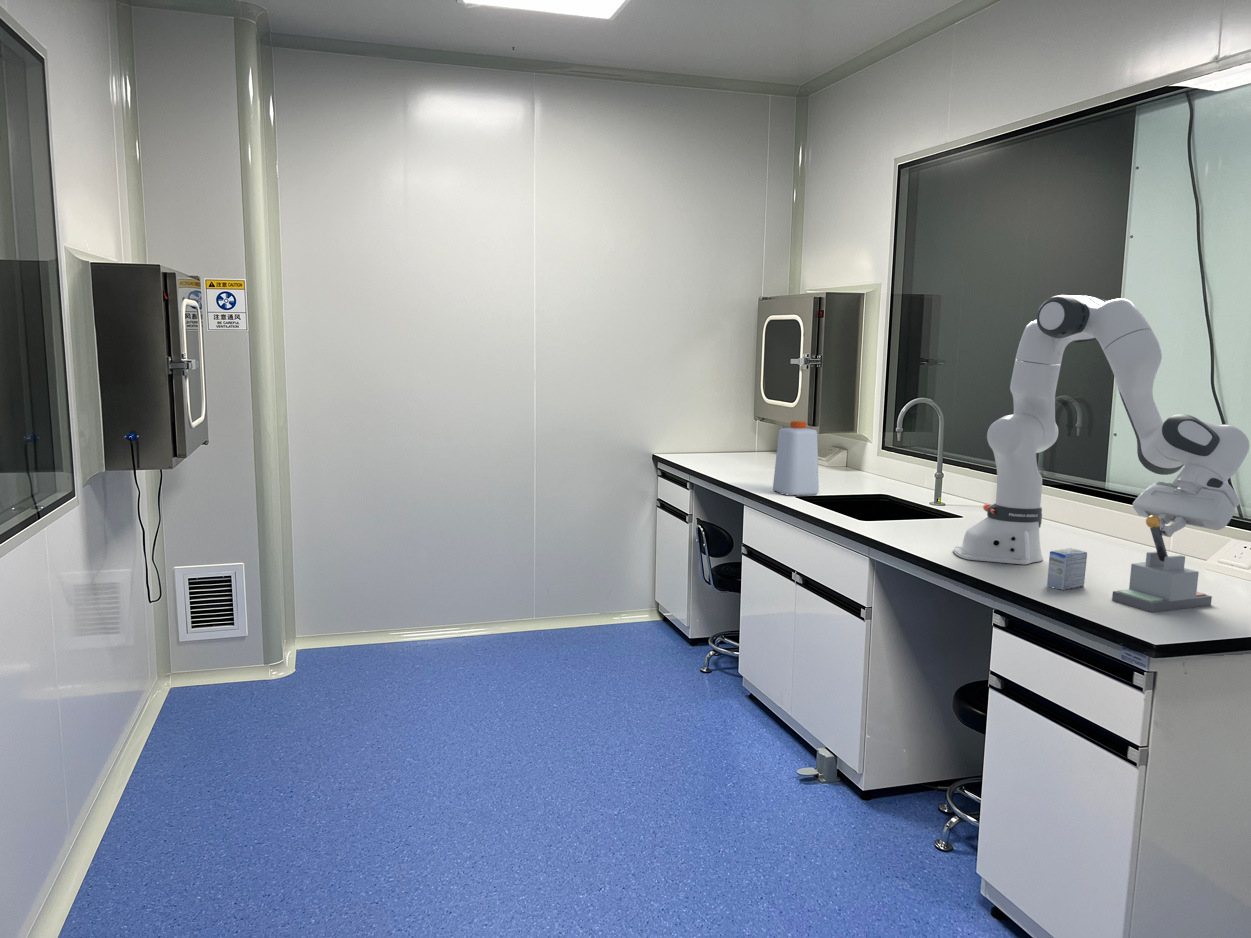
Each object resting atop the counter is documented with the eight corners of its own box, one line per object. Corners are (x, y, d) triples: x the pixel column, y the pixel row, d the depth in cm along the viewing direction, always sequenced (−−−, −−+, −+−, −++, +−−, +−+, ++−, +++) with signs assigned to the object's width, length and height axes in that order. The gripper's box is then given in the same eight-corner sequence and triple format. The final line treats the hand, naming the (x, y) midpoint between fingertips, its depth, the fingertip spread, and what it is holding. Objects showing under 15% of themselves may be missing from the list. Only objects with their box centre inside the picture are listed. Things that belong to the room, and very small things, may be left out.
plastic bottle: (787, 497, 334) (790, 423, 330) (768, 490, 348) (771, 420, 344) (822, 495, 339) (826, 422, 335) (802, 489, 353) (805, 419, 349)
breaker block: (1169, 593, 205) (1173, 547, 203) (1210, 605, 196) (1216, 556, 194) (1111, 599, 198) (1116, 552, 197) (1152, 612, 189) (1157, 562, 188)
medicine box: (1067, 582, 213) (1070, 547, 212) (1084, 587, 209) (1087, 551, 208) (1046, 586, 210) (1049, 550, 208) (1063, 591, 206) (1066, 554, 205)
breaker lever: (1162, 556, 197) (1150, 512, 194) (1174, 559, 195) (1161, 514, 191) (1154, 562, 197) (1141, 518, 193) (1165, 565, 194) (1152, 520, 191)
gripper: (1147, 472, 205) (1113, 516, 202) (1235, 484, 186) (1199, 533, 184) (1159, 490, 207) (1126, 534, 205) (1248, 503, 188) (1212, 552, 186)
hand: (1161, 534), depth 194 cm, fingers closed, pressing on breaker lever
